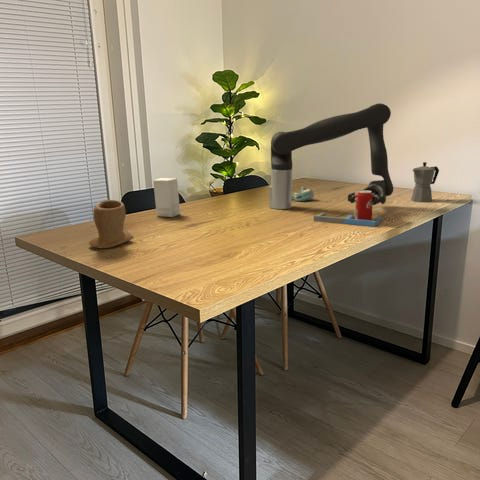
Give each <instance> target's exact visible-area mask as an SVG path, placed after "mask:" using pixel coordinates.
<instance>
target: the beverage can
mask: <svg viewBox="0 0 480 480" xmlns="http://www.w3.org/2000/svg"><path fill="white" fill-rule="evenodd" d="M356 194H357V195H356ZM356 194H355V195H356V198H355V200H356V202H355V209H354V210H355V213H354V214H355V215H354V219H360V220H370V221H373V220H372V219H373V207H374V205H373V194H372V193H371V191H368V190H363V189H362V190H358V191H357V193H356Z"/></svg>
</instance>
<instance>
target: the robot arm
mask: <svg viewBox="0 0 480 480" xmlns="http://www.w3.org/2000/svg"><path fill="white" fill-rule="evenodd" d="M391 115H392V111H391V109H390V107H389V106H388V105H386V104H385V103H375V104H372V105H370V106H368V107H366V108H365V109H364V108H363V109H361V110H359V111H356V112H351V113H344V114H340V115H334V116H332V117H326V118H324V119H321V120H318V121H316V122H314V123H312V124H309V125H307V126H305V127H303V128H300V129H295V130H291V131H278V132H276V133H275V134H273V135H272V137H271V140H270V163H271V165H270V166H271V168H270V169H271V172H270V173H271V174H270V175H271V177H270V178H271V184H270V186H269V209H270V208H271V209H274V210H289V209H292V207H293V203H292V202H293V198H292V195H293V158H292V157H293V156H292V153H293V151H295V150H297V149H301V148H303V147H305V146H310V145H315V144H320V143H325V142H329V141H333V140H335V139H339V138H341V137H345V136H347V135H349V134H352V133H354V132H356V131H359V130H363V129H366V128H367V133H368V141H369V147H370V148H369V149H370V150H369V151H370V167H371V168H370V169H371V174H372V175H374V176H379V177H382V180H372V181H370V182H369V183H368V185H367V186H366V187H365V188H364V189H362V190H368V191H371V193H372V194H373V206H375V205H379V204H380V203H381V204H382V205H384V204H386V202H387V197H389V196H392V194H393V193H394V185H393V182H392V180H391V175H390V173H389V161H388V152H387V151H388V150H387V148H386V144H385V138H384V125H385V124H386V123H387V122H388V121H389V120H390V118H391ZM356 195H357V193H355V192H351V193H349V194H347V202H349V203H350V204H354V203H356Z"/></svg>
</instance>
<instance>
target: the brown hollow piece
mask: <svg viewBox="0 0 480 480" xmlns="http://www.w3.org/2000/svg"><path fill="white" fill-rule="evenodd" d="M126 214H127V212H126V207H125V204H124V203H123V202H122V201H120V200H117V199H108V200H107V199H106V200H103V201H100V202H99V203H97V204H95V206H94V207H93V221H94V225H95V227H96V229H97V234H98V237H95V238H93V239H90V240H89V241H88V245H90V246H91V247H94V248H99V249H107V248H108V249H109V248H112V247H116V246H119V245H122V244H123V243H126V242H128V241H132V240H133V239H134V235H132V234H131V232H129V230H127V229H124V224H125V219H126Z"/></svg>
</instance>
